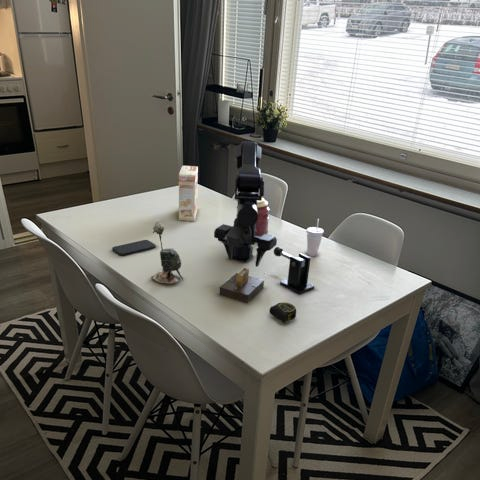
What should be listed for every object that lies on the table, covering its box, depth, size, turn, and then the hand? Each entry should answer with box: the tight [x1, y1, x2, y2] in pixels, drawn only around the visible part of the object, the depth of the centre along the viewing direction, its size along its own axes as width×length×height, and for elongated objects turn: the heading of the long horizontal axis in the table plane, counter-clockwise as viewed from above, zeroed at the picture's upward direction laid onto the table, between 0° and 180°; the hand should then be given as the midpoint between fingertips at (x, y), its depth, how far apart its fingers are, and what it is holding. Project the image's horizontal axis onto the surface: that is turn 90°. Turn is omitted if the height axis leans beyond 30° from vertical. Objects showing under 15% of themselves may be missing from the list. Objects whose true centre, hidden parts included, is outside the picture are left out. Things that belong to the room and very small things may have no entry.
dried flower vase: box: [150, 222, 184, 285], centre depth 162 cm, size 8×11×20 cm
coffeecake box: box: [178, 165, 199, 222], centre depth 218 cm, size 15×7×20 cm, turn 179°
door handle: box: [273, 246, 306, 267], centre depth 167 cm, size 13×3×3 cm, turn 40°
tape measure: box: [269, 301, 297, 324], centre depth 149 cm, size 7×7×4 cm
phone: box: [111, 239, 157, 256], centre depth 188 cm, size 7×1×15 cm
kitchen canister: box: [235, 193, 271, 237], centre depth 200 cm, size 13×13×18 cm
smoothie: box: [305, 218, 324, 257], centre depth 189 cm, size 6×6×14 cm
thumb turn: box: [236, 267, 250, 287], centre depth 161 cm, size 6×2×4 cm, turn 153°
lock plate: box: [218, 272, 265, 304], centre depth 163 cm, size 12×10×3 cm
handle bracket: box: [279, 252, 315, 296], centre depth 166 cm, size 9×7×11 cm
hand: (243, 262), depth 158 cm, fingers open, 9 cm apart
